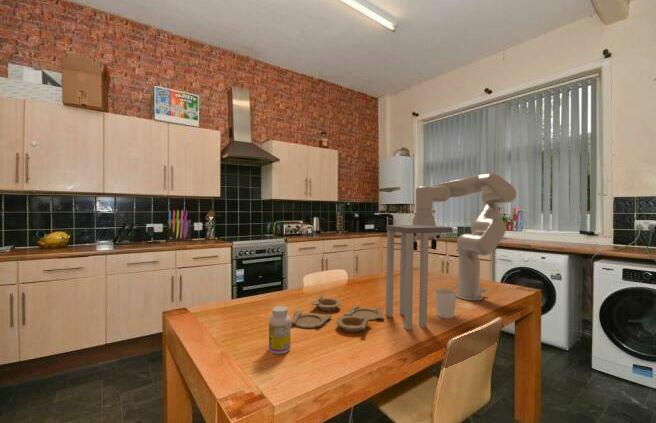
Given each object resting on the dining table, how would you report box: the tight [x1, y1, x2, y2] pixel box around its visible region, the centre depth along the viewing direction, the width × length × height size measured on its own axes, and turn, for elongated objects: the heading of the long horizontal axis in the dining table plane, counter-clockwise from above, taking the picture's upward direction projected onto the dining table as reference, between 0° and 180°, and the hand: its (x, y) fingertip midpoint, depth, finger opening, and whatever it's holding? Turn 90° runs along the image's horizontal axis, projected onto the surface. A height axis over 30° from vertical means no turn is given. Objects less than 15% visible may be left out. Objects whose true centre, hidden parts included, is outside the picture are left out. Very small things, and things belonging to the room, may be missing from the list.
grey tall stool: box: [385, 224, 453, 331], centre depth 117 cm, size 20×15×37 cm
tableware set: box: [291, 294, 385, 333], centre depth 118 cm, size 35×29×4 cm
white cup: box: [435, 288, 457, 319], centre depth 122 cm, size 8×8×10 cm
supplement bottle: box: [268, 305, 292, 355], centre depth 91 cm, size 7×7×13 cm
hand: (424, 249), depth 139 cm, fingers open, 9 cm apart
